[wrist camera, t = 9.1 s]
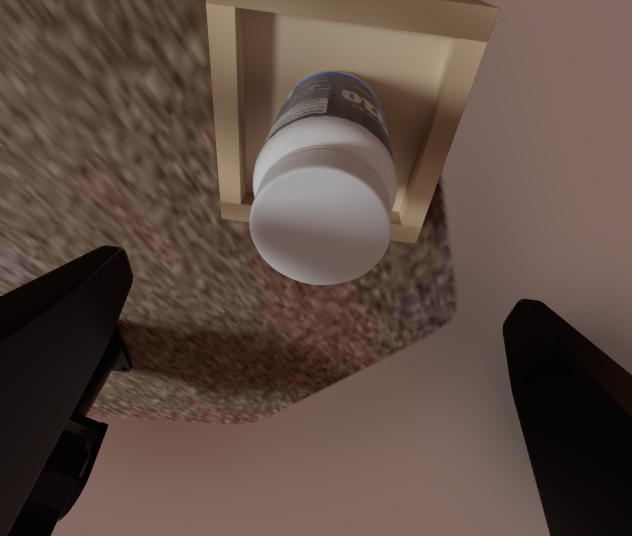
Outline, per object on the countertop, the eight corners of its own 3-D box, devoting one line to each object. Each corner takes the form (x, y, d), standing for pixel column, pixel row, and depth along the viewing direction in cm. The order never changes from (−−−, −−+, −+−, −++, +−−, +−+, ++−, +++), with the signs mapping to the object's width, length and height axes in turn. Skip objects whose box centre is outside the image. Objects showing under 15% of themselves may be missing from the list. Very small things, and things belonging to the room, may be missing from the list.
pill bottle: (401, 144, 17) (433, 262, 11) (315, 190, 19) (297, 314, 12) (352, 42, 14) (355, 115, 8) (257, 106, 16) (198, 207, 10)
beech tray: (409, 214, 21) (415, 243, 19) (234, 192, 21) (221, 218, 19) (478, -1, 14) (499, 8, 12) (224, -36, 14) (203, -34, 12)
